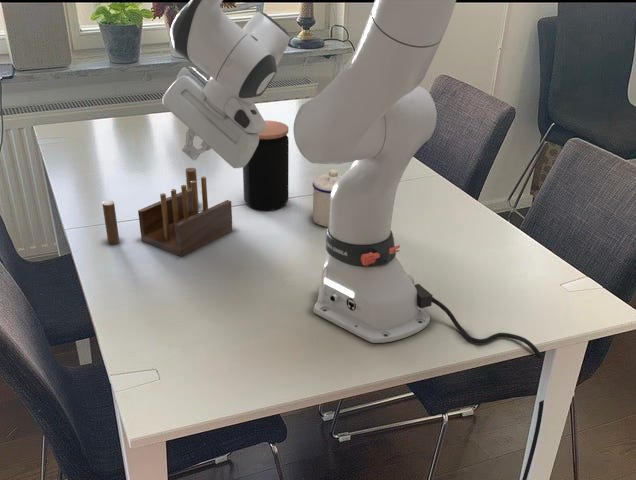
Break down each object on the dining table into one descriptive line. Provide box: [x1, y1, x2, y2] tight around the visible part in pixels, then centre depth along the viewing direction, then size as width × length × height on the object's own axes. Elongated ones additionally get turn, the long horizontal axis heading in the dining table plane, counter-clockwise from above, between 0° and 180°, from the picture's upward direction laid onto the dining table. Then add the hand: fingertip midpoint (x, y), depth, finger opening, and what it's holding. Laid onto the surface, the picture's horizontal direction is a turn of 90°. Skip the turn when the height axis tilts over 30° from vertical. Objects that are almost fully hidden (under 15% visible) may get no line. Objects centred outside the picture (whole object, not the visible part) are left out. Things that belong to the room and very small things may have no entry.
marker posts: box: [101, 167, 200, 246], centre depth 168 cm, size 2×27×9 cm, turn 143°
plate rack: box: [137, 176, 233, 257], centre depth 163 cm, size 12×16×12 cm
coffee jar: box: [242, 119, 290, 211], centre depth 176 cm, size 11×11×18 cm
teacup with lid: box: [312, 169, 343, 228], centre depth 171 cm, size 12×9×12 cm
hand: (188, 155), depth 148 cm, fingers closed
